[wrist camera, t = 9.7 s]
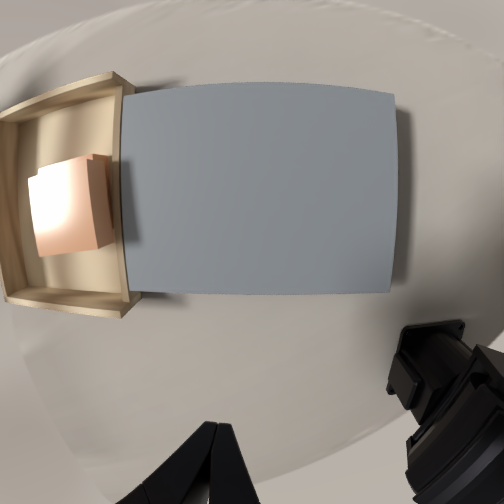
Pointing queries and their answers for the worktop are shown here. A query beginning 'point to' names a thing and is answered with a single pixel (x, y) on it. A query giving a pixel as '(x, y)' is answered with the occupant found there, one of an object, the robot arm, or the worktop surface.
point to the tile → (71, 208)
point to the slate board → (259, 189)
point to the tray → (19, 207)
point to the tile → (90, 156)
